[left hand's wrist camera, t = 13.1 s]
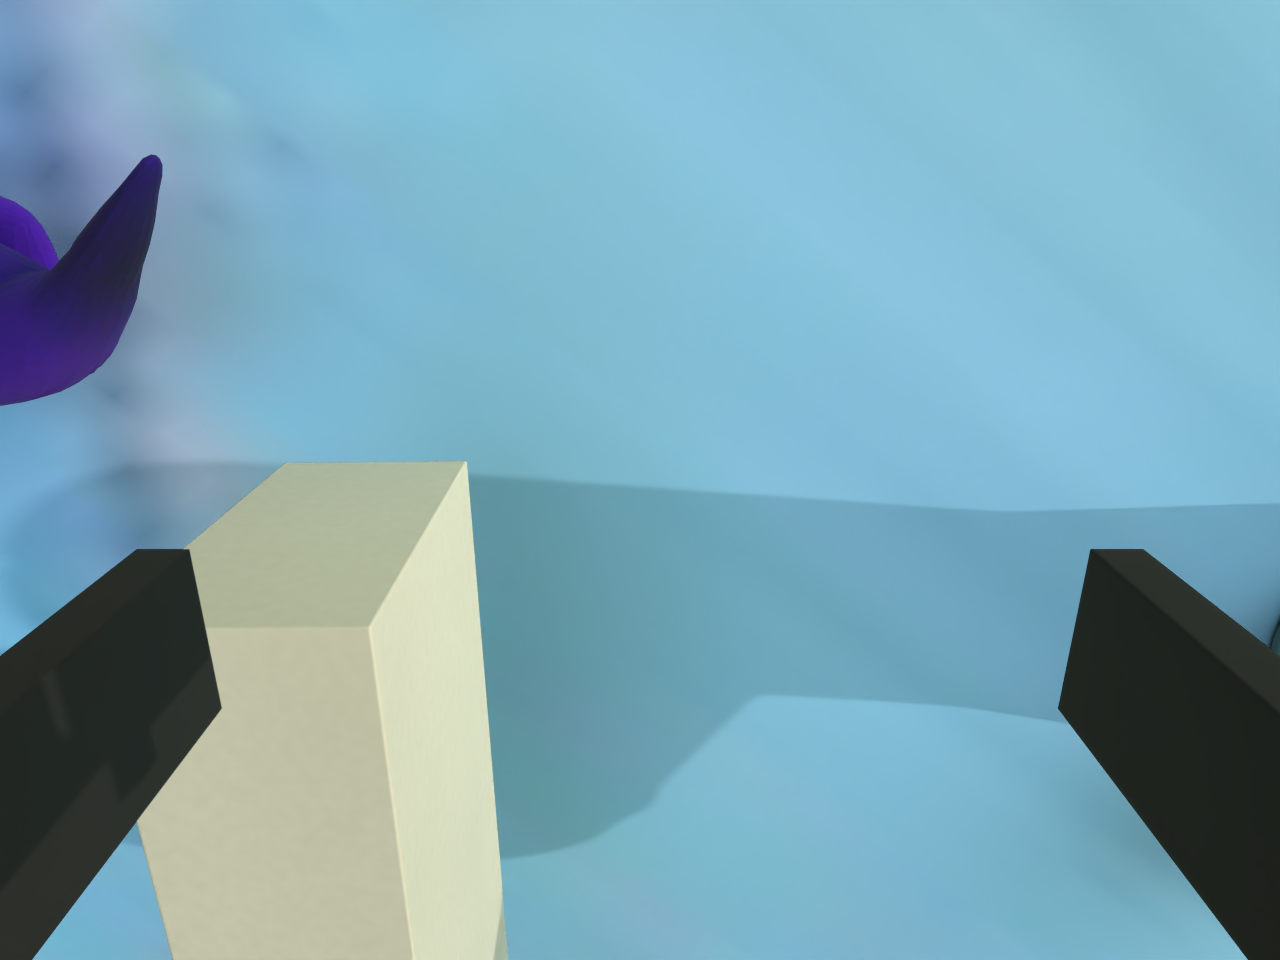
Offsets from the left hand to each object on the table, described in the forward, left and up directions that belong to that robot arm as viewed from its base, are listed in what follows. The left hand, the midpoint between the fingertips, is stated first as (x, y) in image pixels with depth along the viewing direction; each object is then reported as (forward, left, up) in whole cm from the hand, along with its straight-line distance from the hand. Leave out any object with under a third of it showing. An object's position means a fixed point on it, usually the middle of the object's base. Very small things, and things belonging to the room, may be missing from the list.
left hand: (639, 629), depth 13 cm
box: (+18, 0, -16) cm, 24 cm away
